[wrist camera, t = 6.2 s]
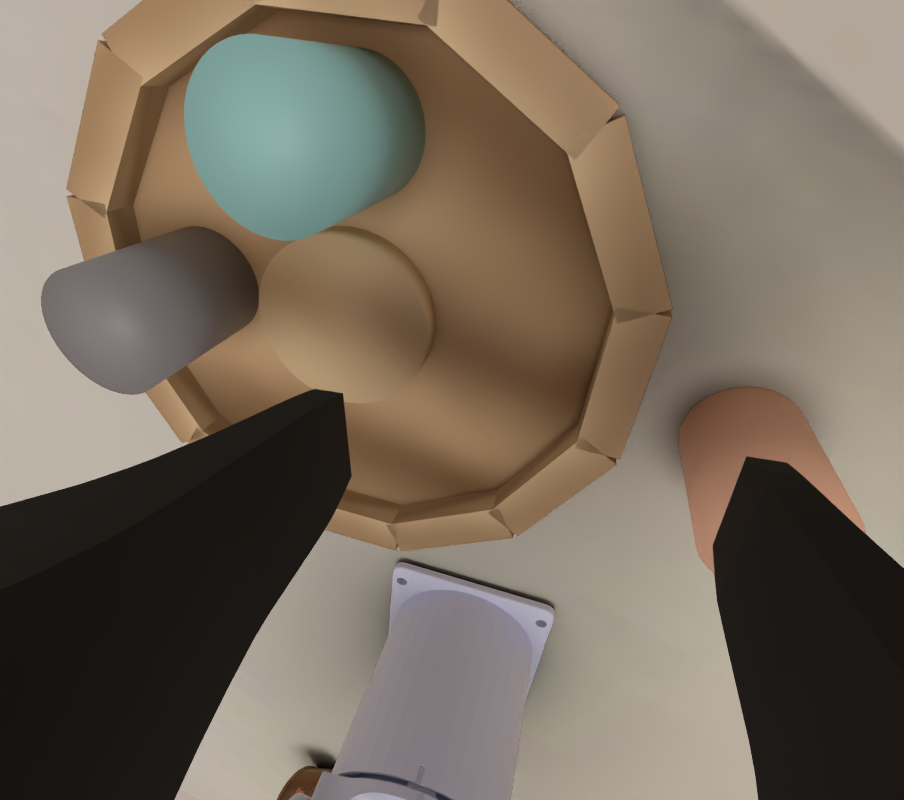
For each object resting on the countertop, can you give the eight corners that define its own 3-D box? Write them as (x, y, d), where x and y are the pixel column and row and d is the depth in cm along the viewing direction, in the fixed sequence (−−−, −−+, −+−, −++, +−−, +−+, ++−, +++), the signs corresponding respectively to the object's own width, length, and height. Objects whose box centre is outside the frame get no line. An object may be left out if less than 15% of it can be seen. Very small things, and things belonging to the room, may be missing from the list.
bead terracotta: (776, 494, 19) (819, 608, 15) (662, 467, 20) (674, 569, 16) (830, 402, 17) (899, 506, 13) (701, 375, 18) (727, 465, 13)
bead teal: (416, 213, 16) (348, 259, 12) (298, 184, 17) (194, 218, 13) (435, 62, 14) (359, 55, 10) (298, 34, 15) (172, 16, 11)
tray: (572, 560, 23) (568, 601, 21) (175, 449, 26) (142, 476, 25) (769, -6, 13) (795, -21, 11) (59, -79, 16) (-14, -100, 14)
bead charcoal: (263, 341, 20) (173, 407, 16) (172, 319, 21) (63, 378, 17) (254, 237, 18) (147, 283, 14) (153, 216, 19) (23, 254, 15)
